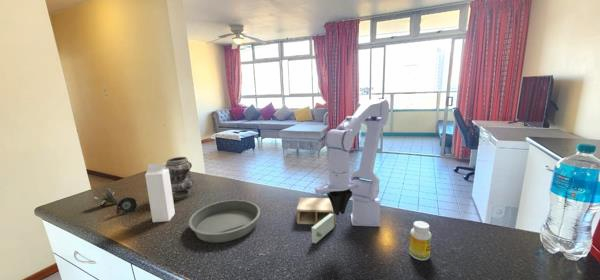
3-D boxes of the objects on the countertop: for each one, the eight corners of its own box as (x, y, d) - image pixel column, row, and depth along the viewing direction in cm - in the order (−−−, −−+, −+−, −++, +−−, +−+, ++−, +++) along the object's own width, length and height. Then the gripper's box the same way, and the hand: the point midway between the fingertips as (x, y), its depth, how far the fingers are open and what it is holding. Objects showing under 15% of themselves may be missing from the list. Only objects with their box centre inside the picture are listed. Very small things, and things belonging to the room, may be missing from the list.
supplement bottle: (410, 246, 76) (412, 217, 74) (430, 252, 73) (433, 222, 71) (407, 257, 71) (409, 226, 69) (428, 263, 68) (431, 231, 66)
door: (332, 225, 88) (332, 210, 87) (338, 227, 87) (338, 212, 86) (311, 242, 79) (311, 226, 78) (318, 245, 77) (318, 229, 76)
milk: (169, 221, 95) (160, 165, 91) (152, 222, 95) (143, 166, 90) (175, 213, 101) (167, 161, 97) (159, 214, 101) (151, 161, 96)
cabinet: (336, 211, 98) (336, 198, 97) (336, 225, 89) (336, 210, 88) (300, 210, 100) (300, 197, 99) (297, 223, 91) (296, 209, 90)
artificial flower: (117, 221, 99) (103, 200, 96) (101, 212, 114) (89, 193, 110) (140, 207, 106) (127, 187, 102) (122, 200, 120) (111, 182, 117)
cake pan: (173, 238, 84) (171, 226, 83) (220, 206, 107) (219, 196, 106) (235, 252, 76) (234, 239, 75) (272, 214, 98) (271, 204, 98)
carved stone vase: (186, 188, 127) (182, 154, 124) (200, 193, 120) (196, 157, 117) (162, 197, 118) (157, 160, 114) (176, 203, 111) (170, 164, 107)
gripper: (352, 163, 80) (351, 203, 82) (310, 170, 74) (311, 212, 77) (365, 169, 73) (365, 212, 76) (321, 177, 68) (322, 223, 71)
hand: (338, 213), depth 76 cm, fingers closed
